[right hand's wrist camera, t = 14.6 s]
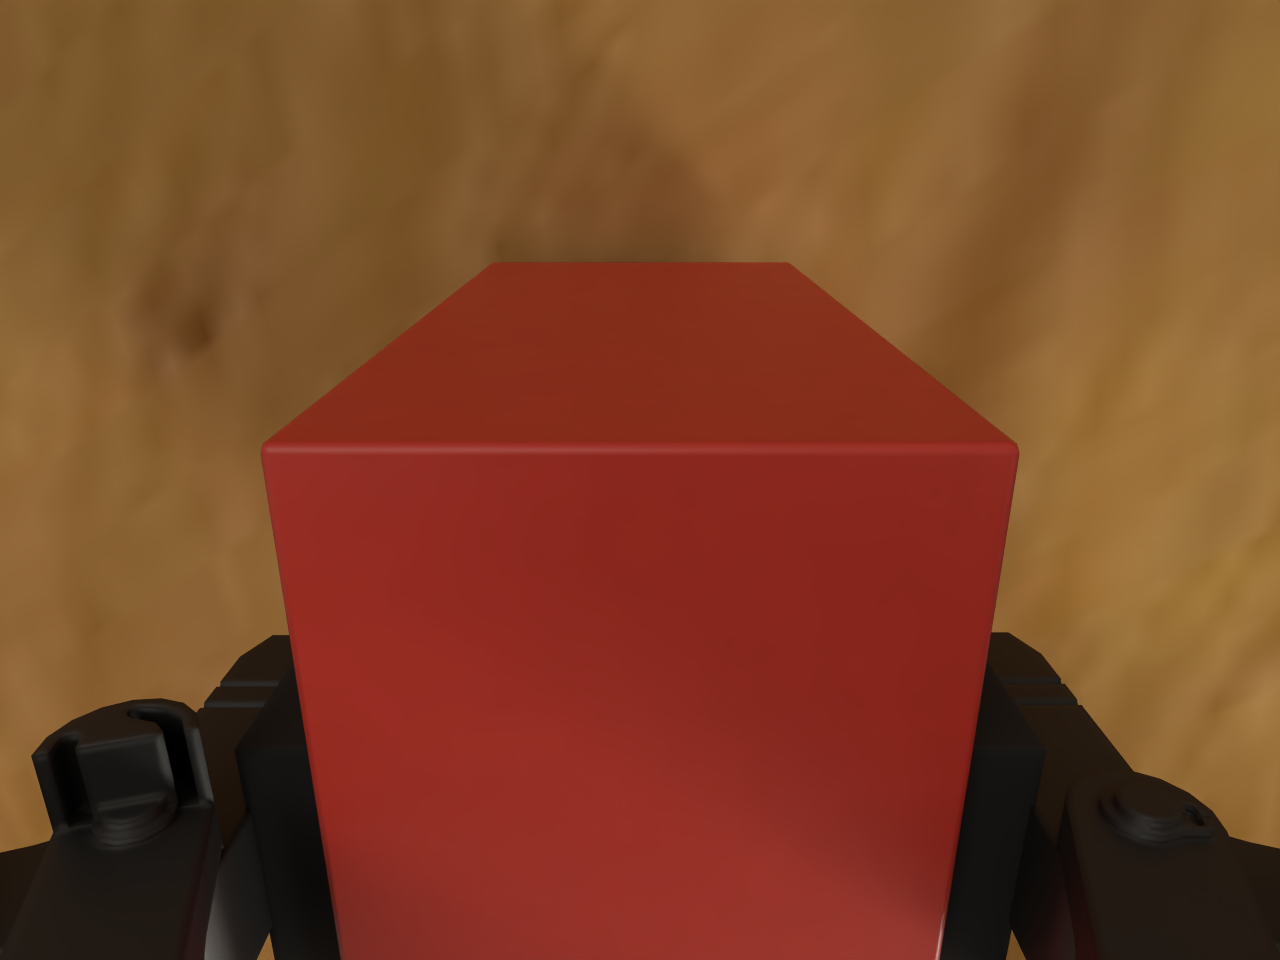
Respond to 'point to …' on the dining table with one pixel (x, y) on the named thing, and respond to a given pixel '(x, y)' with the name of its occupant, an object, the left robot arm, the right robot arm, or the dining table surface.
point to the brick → (640, 622)
